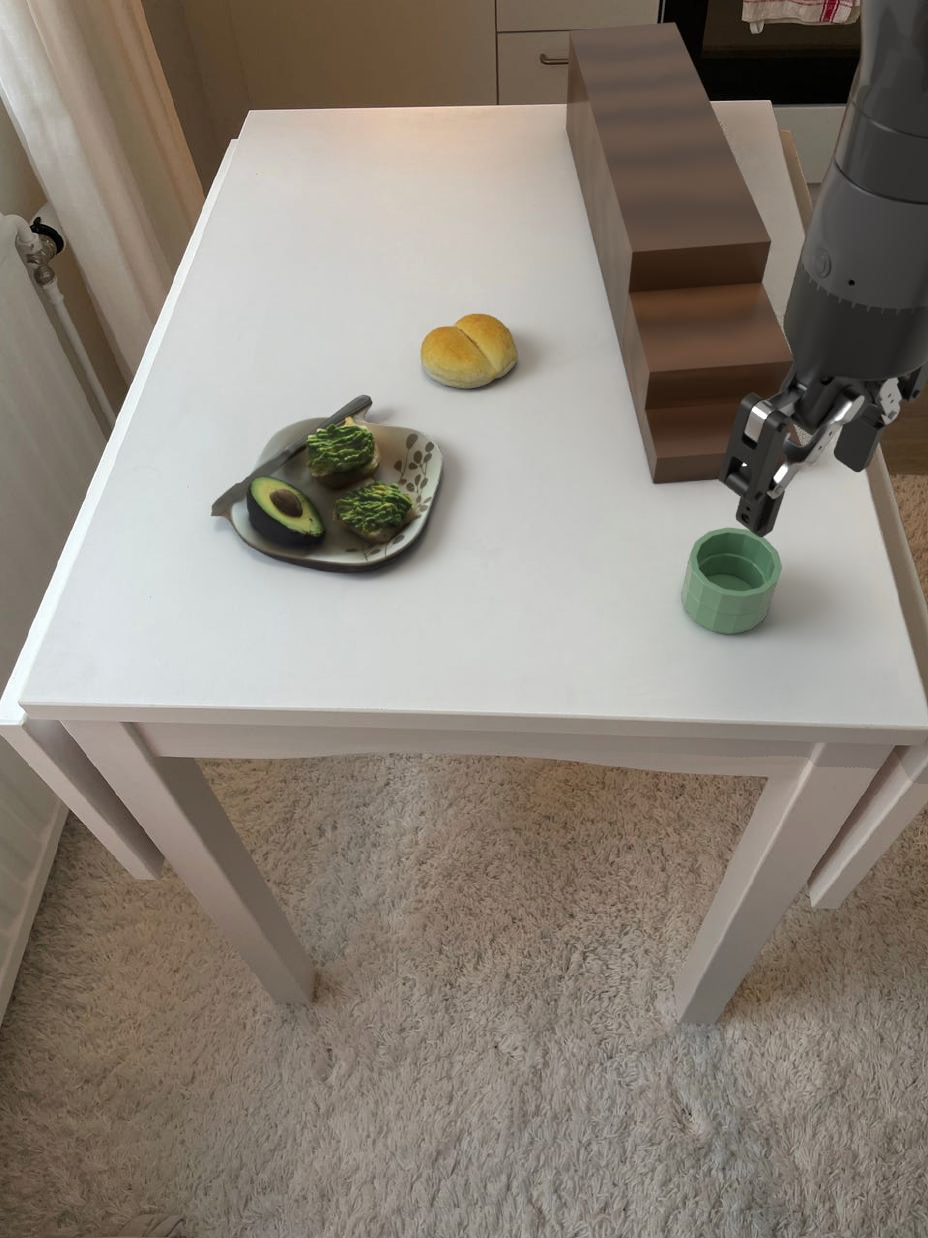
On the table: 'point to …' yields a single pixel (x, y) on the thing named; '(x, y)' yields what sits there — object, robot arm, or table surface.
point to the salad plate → (336, 492)
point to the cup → (730, 580)
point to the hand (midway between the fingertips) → (802, 494)
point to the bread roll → (469, 352)
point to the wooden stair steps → (672, 245)
